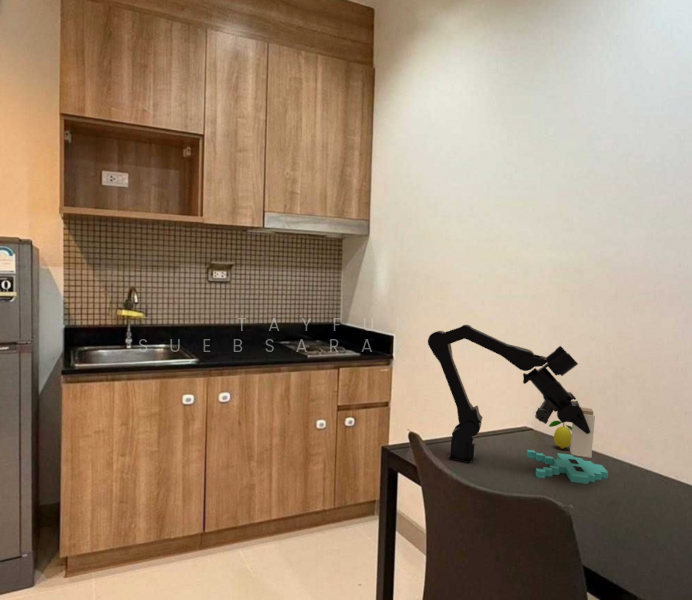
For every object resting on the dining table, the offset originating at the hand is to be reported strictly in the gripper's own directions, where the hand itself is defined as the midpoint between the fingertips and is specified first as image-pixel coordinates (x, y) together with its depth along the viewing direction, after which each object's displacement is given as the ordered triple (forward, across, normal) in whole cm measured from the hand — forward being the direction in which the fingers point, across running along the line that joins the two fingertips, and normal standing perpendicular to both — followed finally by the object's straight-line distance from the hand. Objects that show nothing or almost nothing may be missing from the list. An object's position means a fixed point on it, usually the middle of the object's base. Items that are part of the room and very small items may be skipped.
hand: (587, 430), depth 147 cm
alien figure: (+7, -6, -13) cm, 16 cm away
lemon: (+7, -28, -12) cm, 31 cm away
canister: (+4, 0, -6) cm, 7 cm away
